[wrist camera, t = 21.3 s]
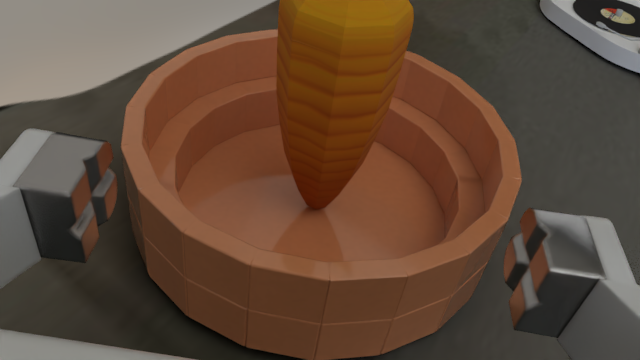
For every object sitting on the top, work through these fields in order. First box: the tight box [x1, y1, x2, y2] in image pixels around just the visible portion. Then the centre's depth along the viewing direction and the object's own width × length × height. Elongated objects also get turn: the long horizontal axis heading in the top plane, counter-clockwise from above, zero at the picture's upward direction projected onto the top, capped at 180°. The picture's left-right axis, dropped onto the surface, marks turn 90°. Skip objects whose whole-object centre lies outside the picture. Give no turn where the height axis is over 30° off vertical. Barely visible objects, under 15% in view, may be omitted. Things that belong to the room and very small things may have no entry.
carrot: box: [276, 0, 414, 209], centre depth 23 cm, size 5×5×15 cm
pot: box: [121, 29, 522, 360], centre depth 27 cm, size 17×17×6 cm
